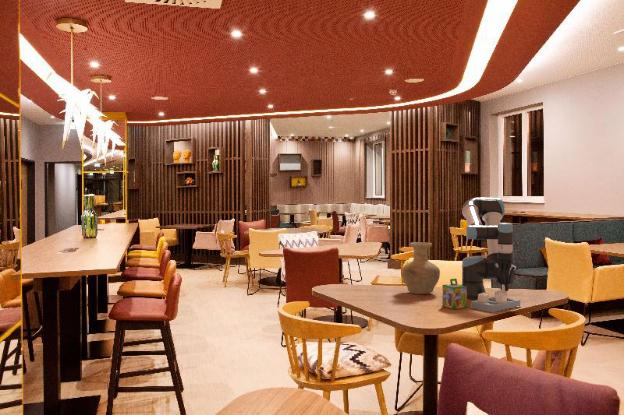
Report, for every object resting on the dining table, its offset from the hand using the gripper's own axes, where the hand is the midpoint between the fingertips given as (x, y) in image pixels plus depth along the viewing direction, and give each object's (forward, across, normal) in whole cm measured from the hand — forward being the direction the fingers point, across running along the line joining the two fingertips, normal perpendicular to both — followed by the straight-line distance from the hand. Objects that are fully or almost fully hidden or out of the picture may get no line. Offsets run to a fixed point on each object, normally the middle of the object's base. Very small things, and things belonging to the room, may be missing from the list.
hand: (504, 296), depth 280 cm
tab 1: (+3, -3, -14) cm, 15 cm away
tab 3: (+3, +3, -7) cm, 8 cm away
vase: (+5, -50, -9) cm, 52 cm away
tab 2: (+3, -3, 0) cm, 4 cm away
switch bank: (+5, 0, -7) cm, 9 cm away
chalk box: (+5, -13, -24) cm, 28 cm away
